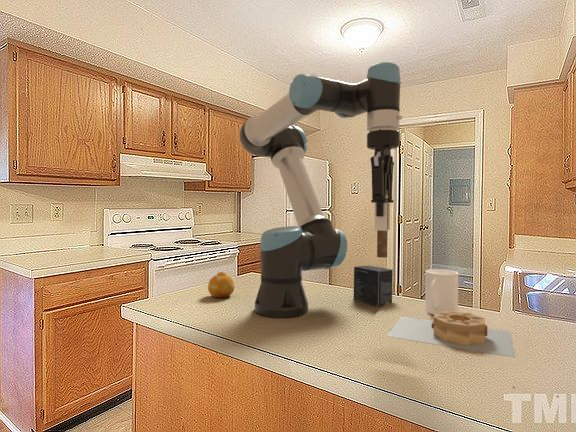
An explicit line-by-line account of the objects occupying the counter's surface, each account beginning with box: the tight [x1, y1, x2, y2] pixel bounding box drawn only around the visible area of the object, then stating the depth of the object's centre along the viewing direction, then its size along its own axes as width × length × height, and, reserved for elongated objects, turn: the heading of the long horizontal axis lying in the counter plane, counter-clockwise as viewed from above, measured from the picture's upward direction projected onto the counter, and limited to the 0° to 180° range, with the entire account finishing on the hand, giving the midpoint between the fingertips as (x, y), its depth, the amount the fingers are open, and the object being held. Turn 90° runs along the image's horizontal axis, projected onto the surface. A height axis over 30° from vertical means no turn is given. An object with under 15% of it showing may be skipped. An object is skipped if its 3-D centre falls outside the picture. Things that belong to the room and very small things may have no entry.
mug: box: [424, 268, 459, 316], centre depth 98 cm, size 12×8×12 cm
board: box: [386, 316, 516, 358], centre depth 83 cm, size 24×16×1 cm, turn 62°
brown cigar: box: [376, 190, 389, 258], centre depth 89 cm, size 2×2×16 cm
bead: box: [432, 310, 488, 345], centre depth 81 cm, size 11×10×4 cm
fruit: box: [207, 271, 235, 299], centre depth 121 cm, size 8×8×8 cm
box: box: [352, 264, 393, 307], centre depth 115 cm, size 11×7×10 cm, turn 34°
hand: (382, 229), depth 89 cm, fingers closed on brown cigar, 2 cm apart
